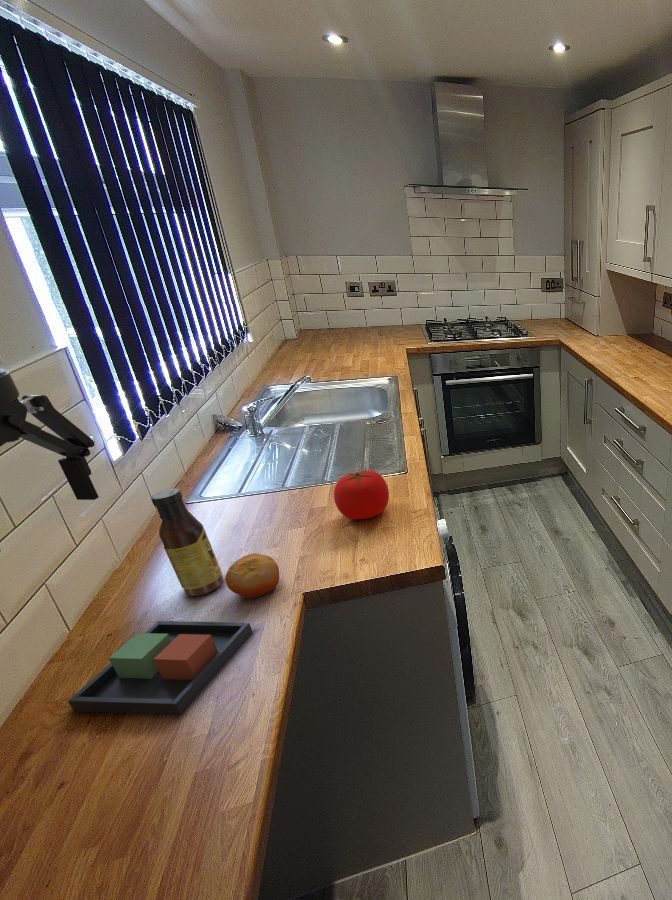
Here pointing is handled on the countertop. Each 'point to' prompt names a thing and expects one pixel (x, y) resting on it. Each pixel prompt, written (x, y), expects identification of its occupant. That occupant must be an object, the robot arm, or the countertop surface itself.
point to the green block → (139, 655)
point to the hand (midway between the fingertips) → (42, 523)
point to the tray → (158, 692)
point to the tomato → (361, 494)
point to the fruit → (252, 575)
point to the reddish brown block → (185, 656)
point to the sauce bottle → (186, 544)
